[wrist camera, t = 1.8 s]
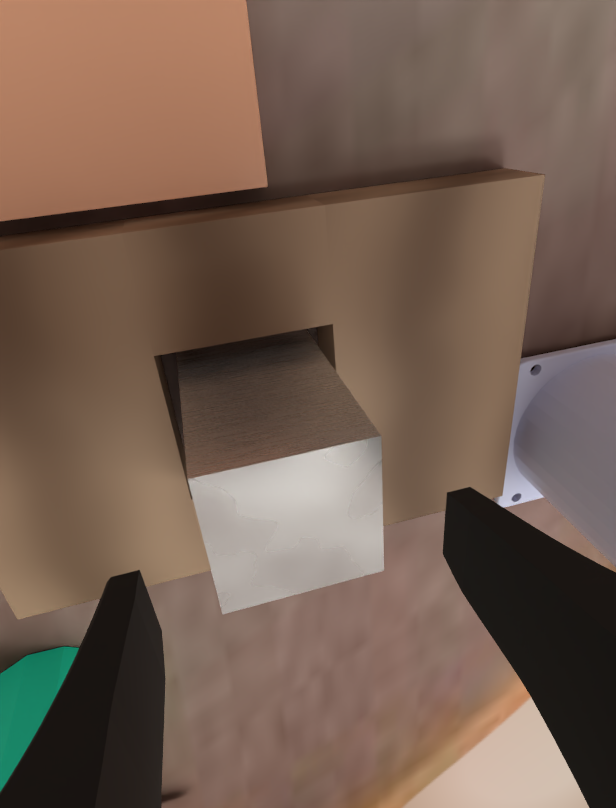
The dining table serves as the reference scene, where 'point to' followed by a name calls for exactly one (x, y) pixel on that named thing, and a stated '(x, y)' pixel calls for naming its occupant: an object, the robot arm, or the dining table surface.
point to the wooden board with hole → (240, 320)
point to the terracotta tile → (125, 103)
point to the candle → (28, 701)
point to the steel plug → (279, 469)
